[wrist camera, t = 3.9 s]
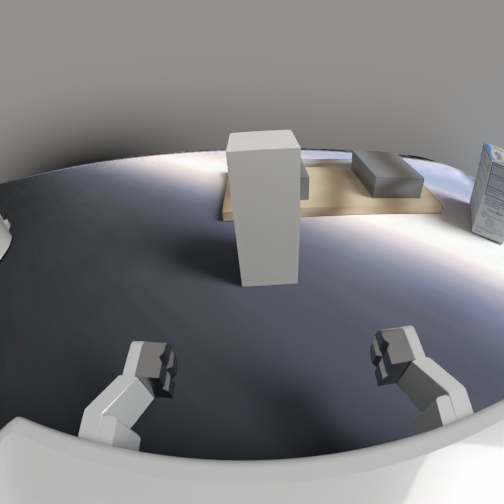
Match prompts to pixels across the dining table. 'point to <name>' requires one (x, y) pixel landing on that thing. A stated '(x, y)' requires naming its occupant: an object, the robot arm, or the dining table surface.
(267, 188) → the block
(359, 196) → the mounting board
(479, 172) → the medicine box
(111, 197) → the dining table surface
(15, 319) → the dining table surface
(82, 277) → the dining table surface
